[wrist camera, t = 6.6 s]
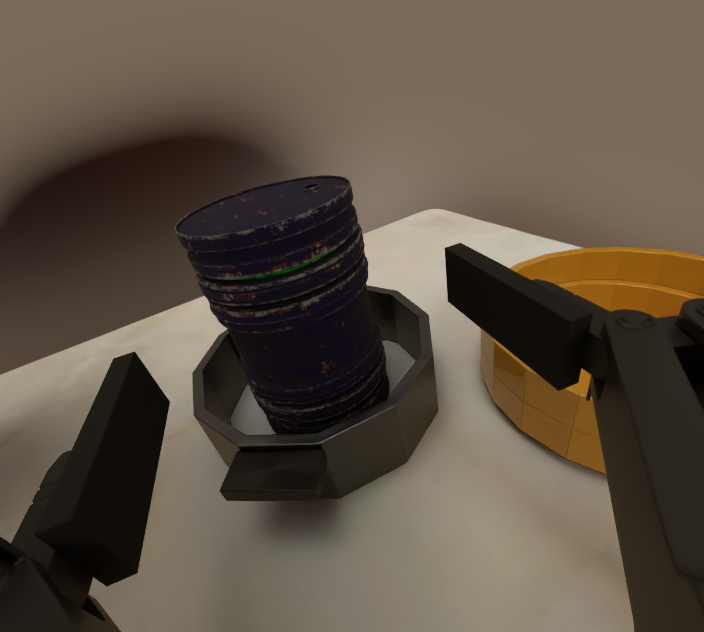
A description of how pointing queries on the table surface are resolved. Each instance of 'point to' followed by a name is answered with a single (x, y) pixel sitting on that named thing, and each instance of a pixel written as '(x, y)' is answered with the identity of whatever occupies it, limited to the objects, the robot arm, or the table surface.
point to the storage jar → (293, 298)
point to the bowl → (570, 403)
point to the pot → (332, 443)
